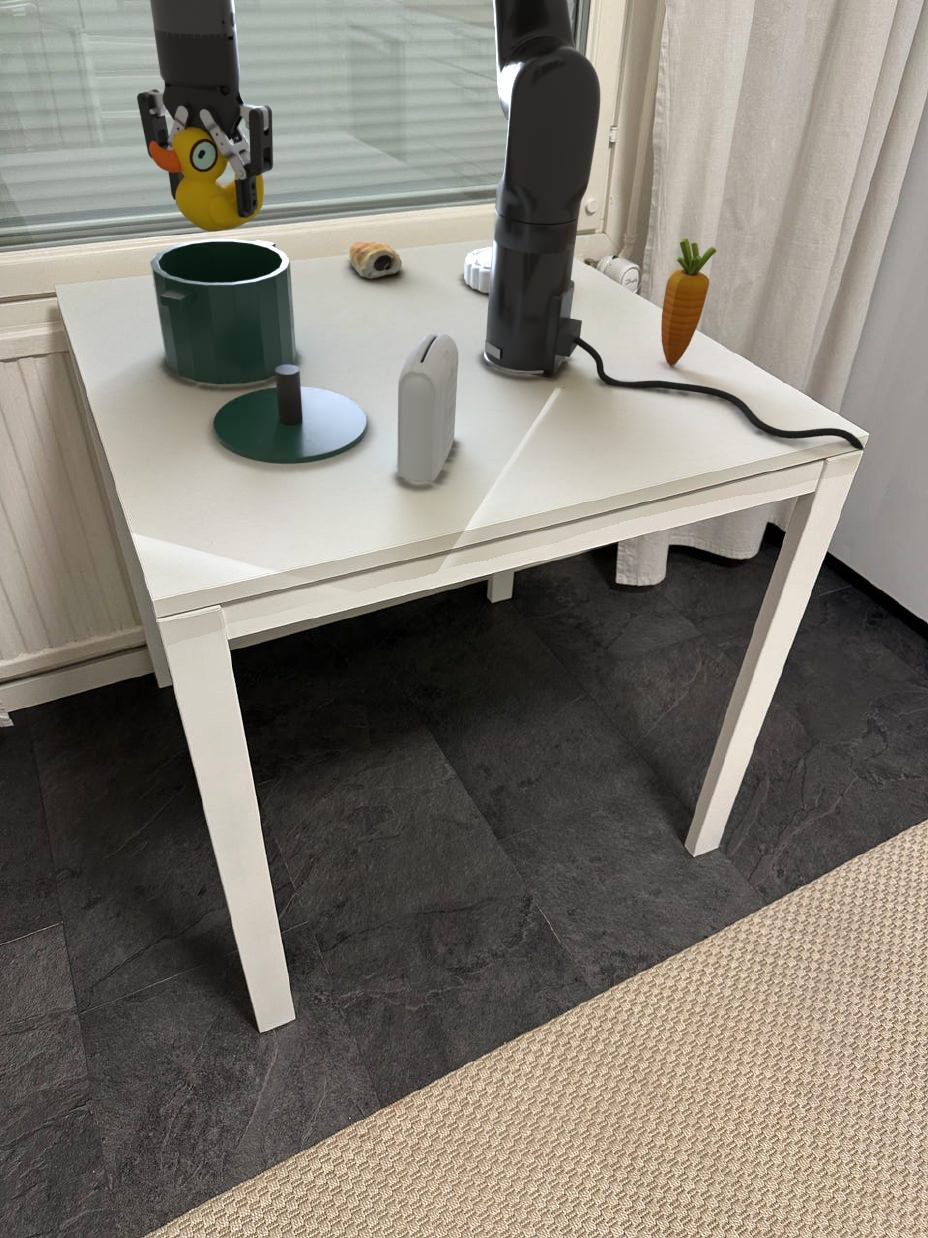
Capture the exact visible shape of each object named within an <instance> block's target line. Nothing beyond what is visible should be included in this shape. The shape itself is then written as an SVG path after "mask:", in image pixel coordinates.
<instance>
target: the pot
mask: <svg viewBox="0 0 928 1238" xmlns="http://www.w3.org/2000/svg"><path fill="white" fill-rule="evenodd" d="M149 263H150V268H151V269H150V270H151V275H152V276H151V277H152V281H153V288H154V294H155V299H156V306H157V312H158V319H159V325H160V330H161V332H160V333H161V337H162V343H163V350H164V356H165V359H166V363H167V367H168V368H169V369H170V370H171V371H172V372H174V374H176V375H177V376H179V377H182V378H184V379H187V380H191V381H194V382H197V383H204V384H211V385H212V384H213V385H219V386H220V385H244V384H250V383H255V382H261V381H265V380H268V379H270V378H272V377H273V378H274V377H276V376H275V369H276V368H277V367H278V366H281V365H294V363H295V360H296V357H297V348H296V333H295V331H296V329H295V315H294V303H293V302H294V301H293V287H292V272H291V261H290V259H289V257H288V256H287V254H286V252H284V251H282V250H280V249H278V248H277V247H276V243H275V242H271V241H266V240H260V239H256V240H253V241H252V240H251V241H250V240H243V239H231V238H230V239H222V238H221V239H203V240H194V241H187V242H183V243H180V244H176V245H172V246H169V247H166V248H164V249H163V250H161V251H159V252H157V253H155V255H154V256H153V258H152V259H151V260H150V262H149Z"/></svg>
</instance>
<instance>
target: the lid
mask: <svg viewBox="0 0 928 1238" xmlns="http://www.w3.org/2000/svg"><path fill="white" fill-rule="evenodd" d="M274 377H275V386H274V387H267V388H263V389H258V390H253V391H250V392H247V393H244V394H242V395H239V396H236V397H235V398H233V399H231V400H229V401H228V402H227V403H225V404H223V406H222V407H220V408H219V409H218V411H217V412H216V414H215V416H214V418H213V421H212V425H213V433H214V435H215V438H216V439H217V441H218V442H219V443H220V444H221V445H222V446H223V447H224V448H225V449H227V450H229V451H230V452H232V453H234V454H237V455H239V456H241V457H244V458H247V459H250V460H255V461H258V462H259V461H260V462H264V463H273V464H274V463H275V464H298V463H299V464H301V463H309V462H315V461H320V460H324V459H328V458H331V457H332V458H333V457H335V456H337V455H340V454H343V453H344V452H346V451H348V450H350V449H351V448H353V447H354V446H356V445H357V444H358V443H359V442H360V441H361V440H362V439H363V438H364V436H365V434H366V432H367V429H368V417H367V415H366V412H365V410H364V409H363V408H362V407H361V405H360V404H359V403H357V402H356V401H355V400H353V399H352V398H350V397H348V396H346V395H343V394H341V393H338V392H336V391H332V390H329V389H324V388H319V387H312V386H301V385H302V384H301V371H300V367H298V366H297V365H295V364H293V365H281V366H278V367H277V368H276V369H275V376H274Z"/></svg>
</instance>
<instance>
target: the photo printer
mask: <svg viewBox="0 0 928 1238" xmlns="http://www.w3.org/2000/svg"><path fill="white" fill-rule="evenodd" d="M404 361H405V362H404V363H403V366H402V368H401V371H400V374H399V378H398V385H397V386H398V387H397V451H396V452H397V453H396V455H397V457H396V459H397V462H396V463H397V467H396V468H397V469H396V470H397V477H398V478H399V477H400V478H402V479H404V480H405V481H409V482H412V483H427V482H430V483H431V482H434V481H435V480H436V479H437V478H438V476H439V474H440V473H441V471H442V469H443V467H444V465H445V463H446V461H447V459H448V456H449V454H450V452H451V449H452V447H453V445H454V440H455V429H456V408H457V389H458V372H459V371H458V370H459V348H458V345H457V344H456V341H455V340H454V339H453V338H452V336H451V335H449V334H448V333H437V332H431V333H428V334H426V335H424V336H423V337H421V338H420V339H419V340H418V341H417V342H416V344H415V345H414V346H413V347H412V348H411V350H410V351H409V354H408V355H407V357H406V359H405V360H404Z"/></svg>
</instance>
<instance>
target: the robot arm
mask: <svg viewBox="0 0 928 1238" xmlns="http://www.w3.org/2000/svg"><path fill="white" fill-rule="evenodd" d="M492 2H493V16H494V33H495V34H494V35H495V47H496V48H495V54H496V81H497V83H496V84H497V95H498V100H499V105H500V108H501V110H502V113H503V115H504V117H505V119H506V120H507V122H508V123H507V134H506V135H507V138H506V148H505V158H504V167H503V172H502V175H501V179H500V180H499V181H498V183H497V186H496V189H495V190H496V191H495V205H494V219H493V230H492V231H493V233H492V259H491V273H490V287H489V293H488V301H487V302H488V304H487V317H486V318H487V319H486V330H485V331H486V333H485V341H484V343H485V344H484V350H483V361H484V362H485V364H486V365H487V366H488V367H491V368H495V369H498V370H501V371H503V372H507V373H511V374H516V375H517V374H519V375H531V376H537V377H548V378H553V377H555V374H556V373H557V371H558V370H559V369H560V368H561V366H562V364H563V362H564V361H565V359H566V358H570V357H571V356H572V354H573V353H574V351H575V349H576V348H577V347H580V348H581V349H582V350H584V351H585V352H587V353H588V354H589V356H590V357H592V358H593V360H594V362H595V365H596V372H597V376H598V378H599V379H600V380H601V381H602V382H604V383H605V384H607V385H609V386H613V387H618V388H619V387H620V388H629V389H651V388H652V389H653V388H654V389H655V388H656V389H657V388H658V389H667V390H674V391H684V392H691V393H692V392H693V393H698V394H699V393H700V394H703V395H704V394H705V395H708V396H709V395H710V396H714V397H716V398H720V399H722V400H725V401H727V402H730V403H731V404H733V405H734V406H736V407H737V409H739V410H740V411H741V412H742V413H743V415H744V416H745V418H747V420H748V421H749V422H750V423H751V424H752V425H753V426H754V427H756V428H757V429H759V430H760V431H761V432H764V433H765V434H768V435H770V436H773V437H777V438H780V439H791V440H797V439H809V438H818V437H838V438H841V439H843V440H845V441H847V442H848V443H850V445H851V446H852V447H853V448H855V449H858V450H864V445H863V444H862V442H861V440H860V439H859V438H858V437H856V436H855V435H854V434H853V433H852V432H849V431H848V430H845V429H841V428H834V427H823V428H814V429H813V428H812V429H805V430H803V429H802V430H785V429H781V428H780V429H779V428H777V427H774V426H771V425H769V424H767V423H766V422H764V421H762V419H760V418H759V417H758V416H757V415H756V414H755V412H753V411H752V409H751V408H750V406H748V405H747V404H746V402H744V401H743V400H742V399H741V398H740V397H738V396H736V395H734V394H731V393H729V392H727V391H724V390H722V389H718V388H715V387H710V386H705V385H699V384H692V383H685V382H675V381H668V380H657V379H655V380H638V381H622V380H618V379H615V378H612V377H611V376H610V375H608V374H607V373H606V372H605V367H604V361H603V358H602V356H601V355H600V353H599V352H598V351H597V350H596V349H595V348H594V347H593V346H592V345H591V344H589V343H588V342H586V341H585V340H584V339H583V338H581V331H582V326H583V320H581V319H577V318H572V317H571V316H572V315H571V314H572V308H573V307H572V306H573V300H574V291H575V281H574V280H572V274H573V273H572V272H573V266H574V265H573V264H574V257H575V249H576V243H577V242H576V241H577V232H578V226H579V225H578V224H579V218H580V211H581V205H582V201H583V198H584V196H585V194H586V192H587V189H588V187H589V182H590V177H591V172H592V166H593V159H594V155H595V154H594V153H595V146H596V142H597V135H598V127H599V120H600V111H601V85H600V80H599V76H598V73H597V71H596V69H595V67H594V65H593V64H592V62H591V60H589V59H588V57H587V56H585V55H584V54H583V53H582V52H581V51H579V50H578V49H576V45H575V39H574V35H573V34H574V33H573V29H572V28H573V27H572V24H571V17H570V9H569V4H568V0H492ZM149 3H150V9H151V17H152V23H153V32H154V39H155V46H156V54H157V60H158V61H157V62H158V68H159V75H160V78H161V79H162V80H163V81H164V82H163V83H164V89H163V92H161V91H159V90H158V89H156V88H154V89H150V90H146V91H143V92H139V93H138V94H137V96H136V101H137V106H138V111H139V117H140V121H141V125H142V126H141V127H142V131H143V135H144V141H145V145H146V150H147V154H148V156H149V157H150V158H151V159H152V160H153V158H152V156H151V154H150V151H149V145H150V143H151V142H152V141H155V142H156V143H157V144H158V146H159V147H161V148H162V149H166V150H172V142H173V139H174V137H175V135H176V134H177V133H178V132H181V131H184V130H185V129H186V128H188V127H195V128H199V129H201V130H203V131H205V132H206V133H207V134H208V135H209V136H210V138H211V139H212V141H213V142H214V143H215V145H216V147H218V148H219V150H220V152H221V154H222V156H223V157H224V158H226V159H227V160H228V164H229V165H230V167H231V168H232V171H233V173H234V175H235V174H236V176H237V178H238V179H235V189H236V199H237V209H238V215H239V217H243V218H247V217H249V216H251V215H253V214H254V210H256V209H257V206H258V199H257V187H256V177H257V176H259V175H261V174H262V175H263V174H265V173H266V172H269V171H271V170H272V169H273V168H274V146H273V145H274V144H273V143H274V141H273V140H274V138H273V111H272V108H271V107H270V105H267V104H263V105H259V106H257V105H253V104H248V103H245V101H244V99H243V97H242V94H241V91H240V82H241V67H240V58H239V48H238V47H239V46H238V34H237V33H238V32H237V17H236V13H235V11H236V10H235V0H149ZM167 113H168V114H169V115H170V117H171V119H172V120H173V124H172V127H171V130H170V132H169V129H168V124H167V118H166V114H167ZM243 119H244V123H245V124H244V126H245V128H246V129H247V130H248V133H249V136H248V137H249V142H248V139H247V137H246V136H245V134H244V132H243V130H242V128H241V127H240V124H241V122H242V120H243ZM230 141H232V143H231V142H230ZM167 172H168V171H167ZM184 177H185V176H184V175H183V173H182V172H177V173H171V172H168V179H169V187H170V193H171V196H172V198H173V201H176V190H177V187H178V185H179V183H180V182H181V181H182V179H183V178H184ZM175 204H176V205H177V203H176V202H175Z"/></svg>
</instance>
